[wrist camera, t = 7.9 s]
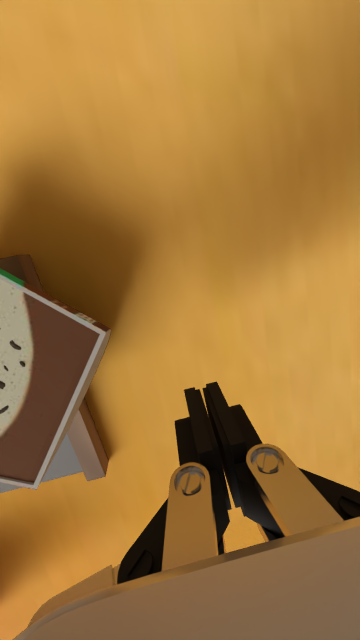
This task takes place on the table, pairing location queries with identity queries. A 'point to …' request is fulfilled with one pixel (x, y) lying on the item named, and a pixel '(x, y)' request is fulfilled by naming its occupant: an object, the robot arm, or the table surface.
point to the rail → (82, 425)
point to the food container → (40, 376)
